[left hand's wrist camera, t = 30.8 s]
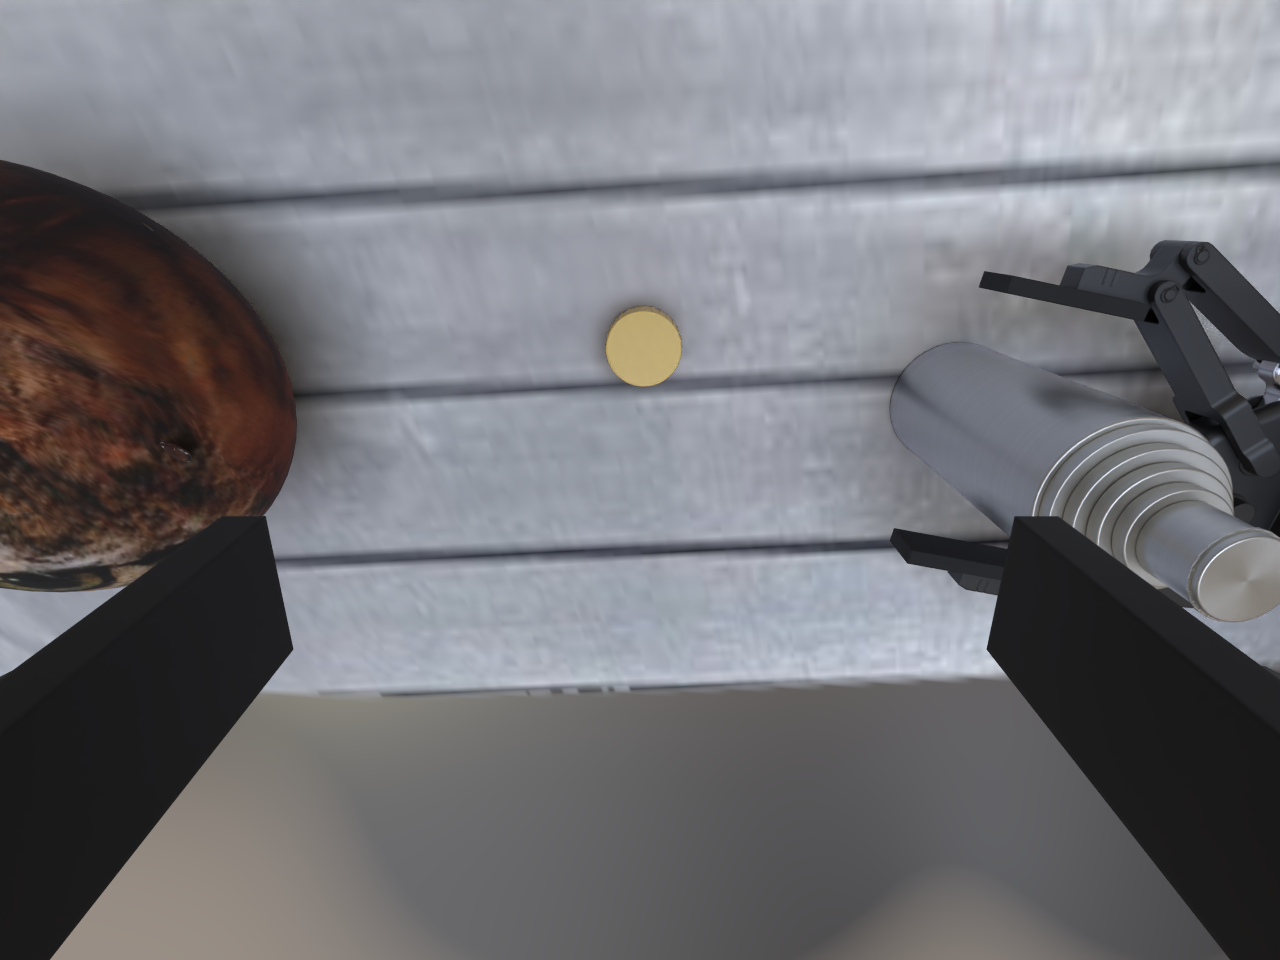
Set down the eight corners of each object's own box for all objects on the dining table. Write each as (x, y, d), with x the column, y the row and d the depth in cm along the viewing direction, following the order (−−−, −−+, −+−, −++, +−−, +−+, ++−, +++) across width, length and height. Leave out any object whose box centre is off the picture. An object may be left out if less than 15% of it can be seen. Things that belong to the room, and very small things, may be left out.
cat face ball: (-191, 487, 37) (-766, 303, 19) (52, 248, 44) (-200, -60, 26) (210, 677, 41) (50, 675, 22) (379, 428, 47) (364, 269, 29)
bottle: (880, 456, 42) (1098, 675, 22) (900, 339, 40) (1166, 464, 20) (996, 461, 42) (1320, 683, 22) (1023, 344, 40) (1414, 474, 20)
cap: (643, 393, 41) (643, 403, 39) (591, 342, 40) (588, 349, 38) (695, 343, 40) (698, 349, 38) (643, 288, 39) (644, 293, 37)
